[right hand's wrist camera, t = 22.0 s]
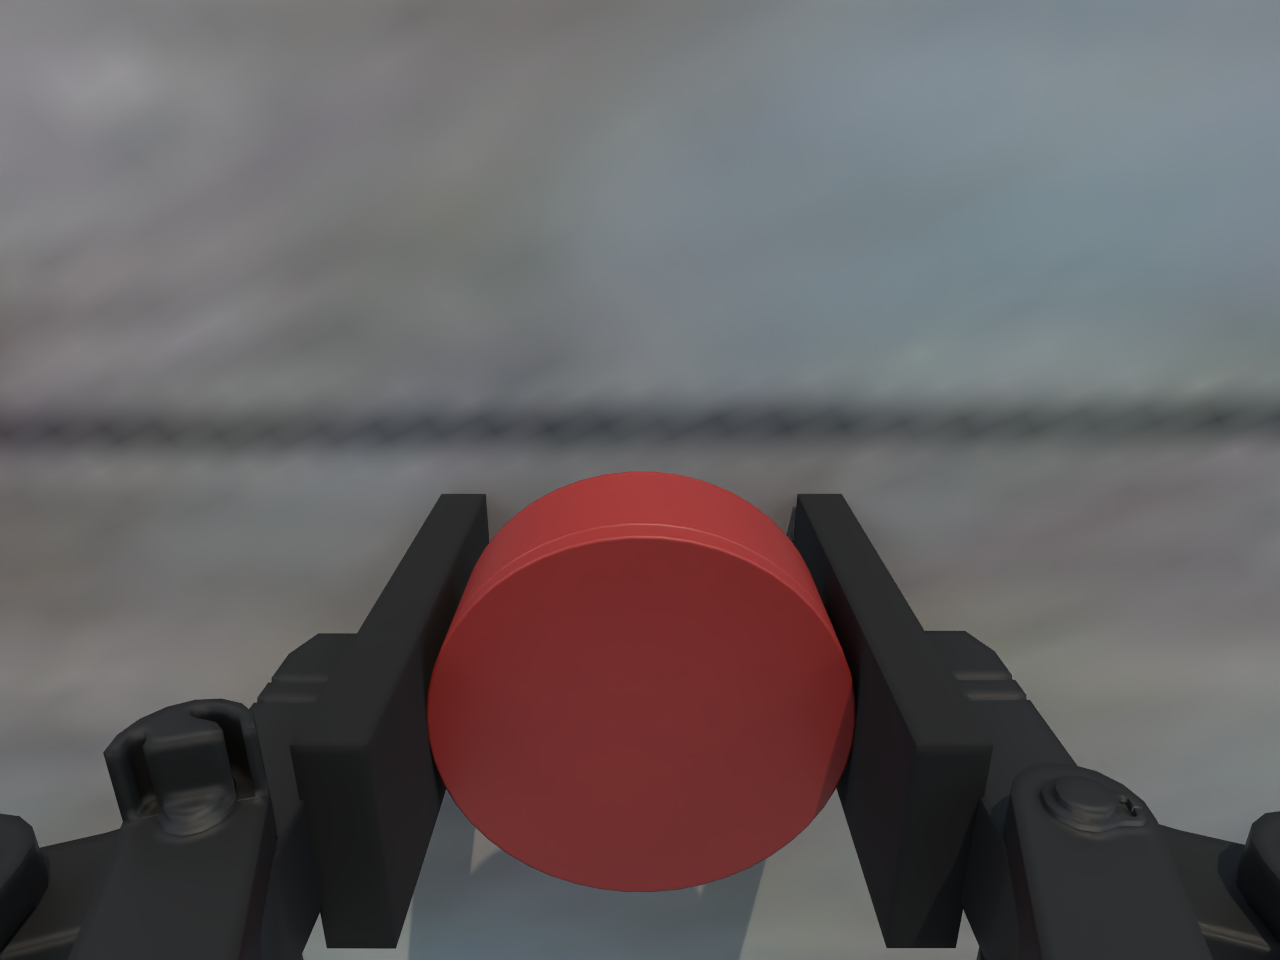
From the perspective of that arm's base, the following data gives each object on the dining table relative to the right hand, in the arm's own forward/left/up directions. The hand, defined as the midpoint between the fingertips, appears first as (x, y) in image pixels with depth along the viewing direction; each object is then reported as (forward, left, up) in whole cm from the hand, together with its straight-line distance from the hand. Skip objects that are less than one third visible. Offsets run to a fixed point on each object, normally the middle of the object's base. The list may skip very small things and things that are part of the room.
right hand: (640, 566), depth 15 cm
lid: (0, 0, +4) cm, 4 cm away
